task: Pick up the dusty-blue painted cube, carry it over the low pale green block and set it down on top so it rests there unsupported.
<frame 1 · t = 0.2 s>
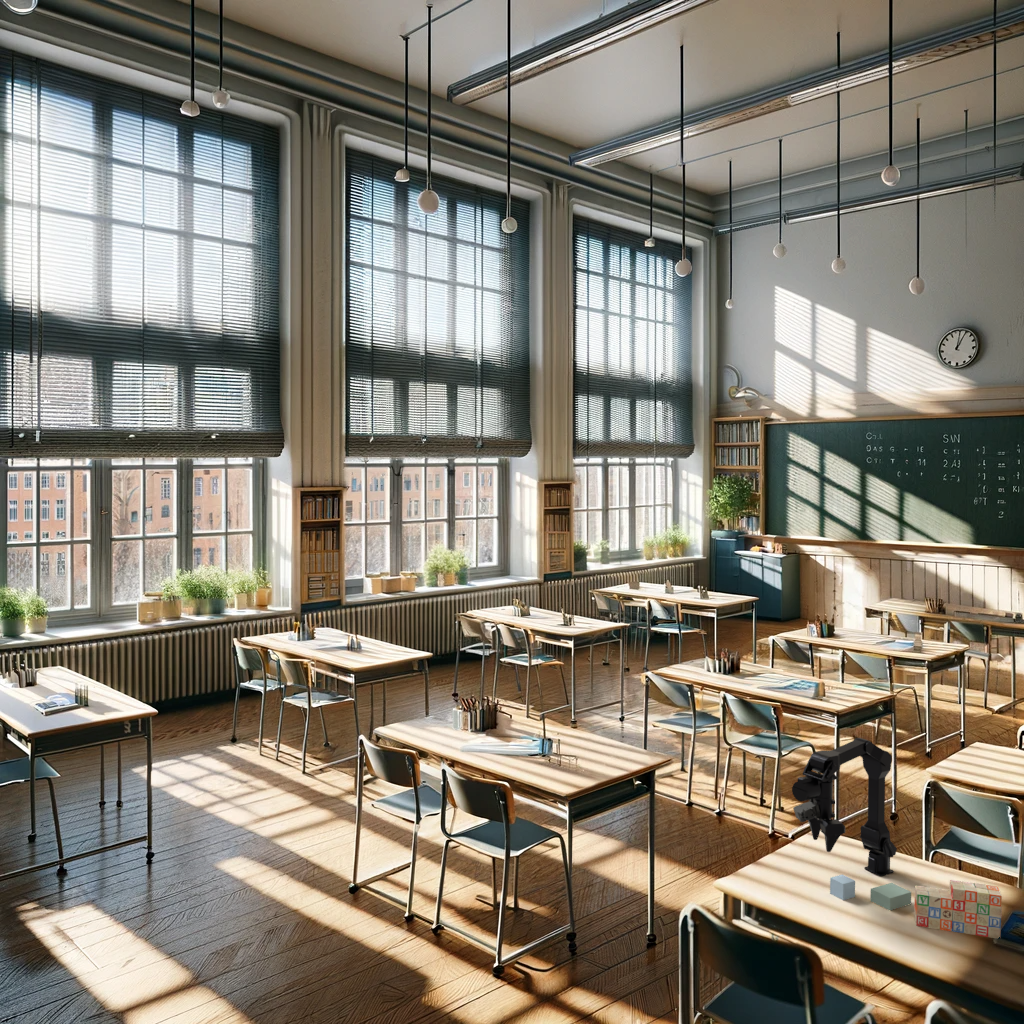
hand: (821, 845, 282), 14 cm above the table, fingers open, 9 cm apart
pale green block: (890, 903, 275), on the table
cube: (842, 895, 279), on the table
stack of blocks: (956, 928, 260), on the table
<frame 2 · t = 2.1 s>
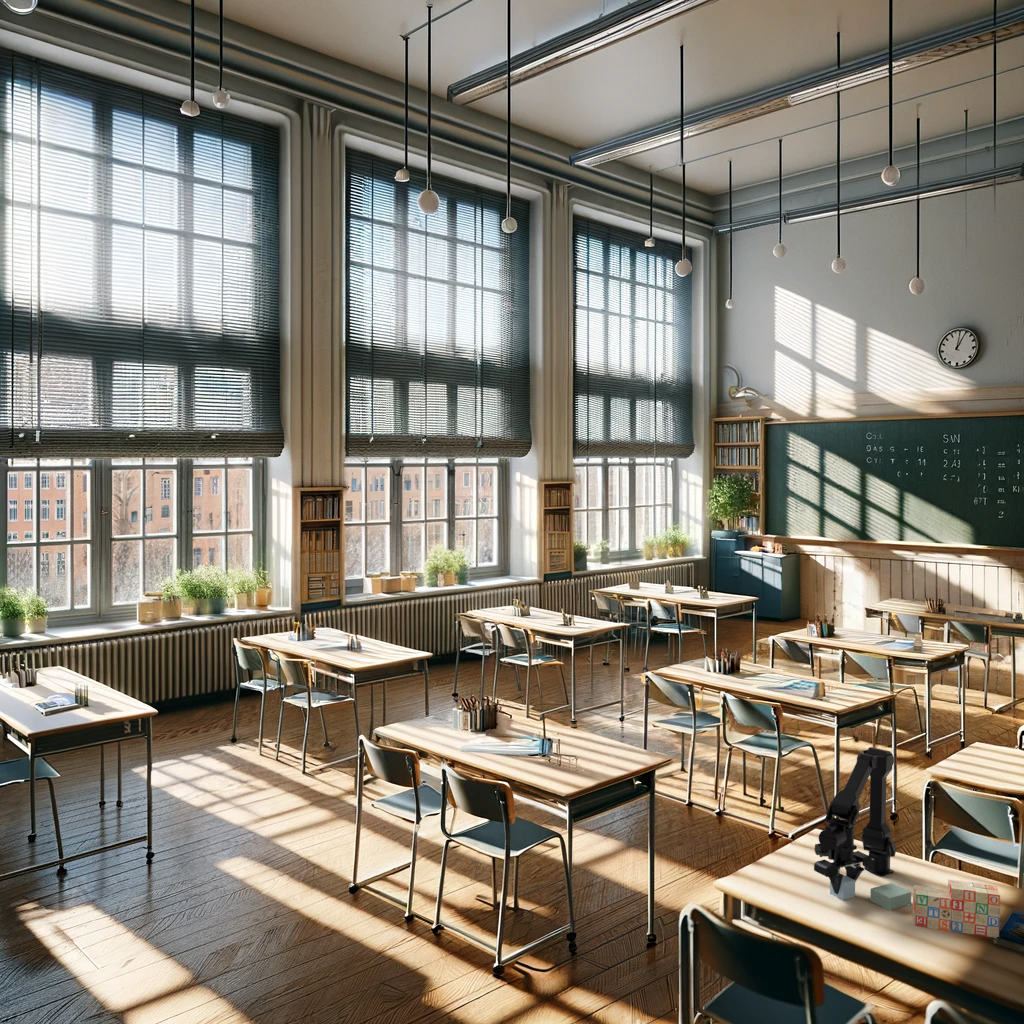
hand: (842, 891, 279), 1 cm above the table, fingers closed on cube, 5 cm apart
cube: (842, 895, 279), on the table, touching gripper
everything else where it was.
when the fingers open (6 cm above the table, at t = 5.2 s): cube drops 2 cm, point 4 cm above the table.
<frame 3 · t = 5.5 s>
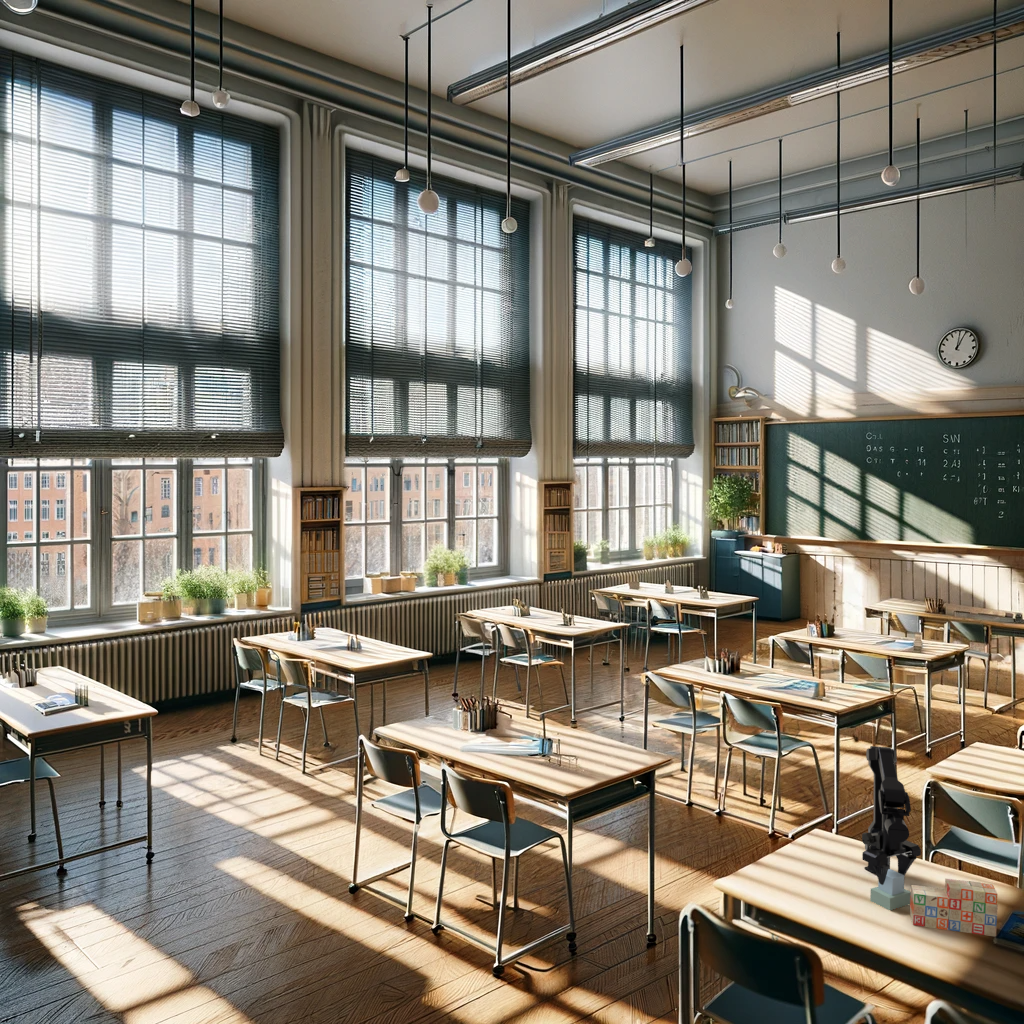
hand: (891, 881, 275), 6 cm above the table, fingers open, 8 cm apart
cube: (891, 890, 275), point 4 cm above the table
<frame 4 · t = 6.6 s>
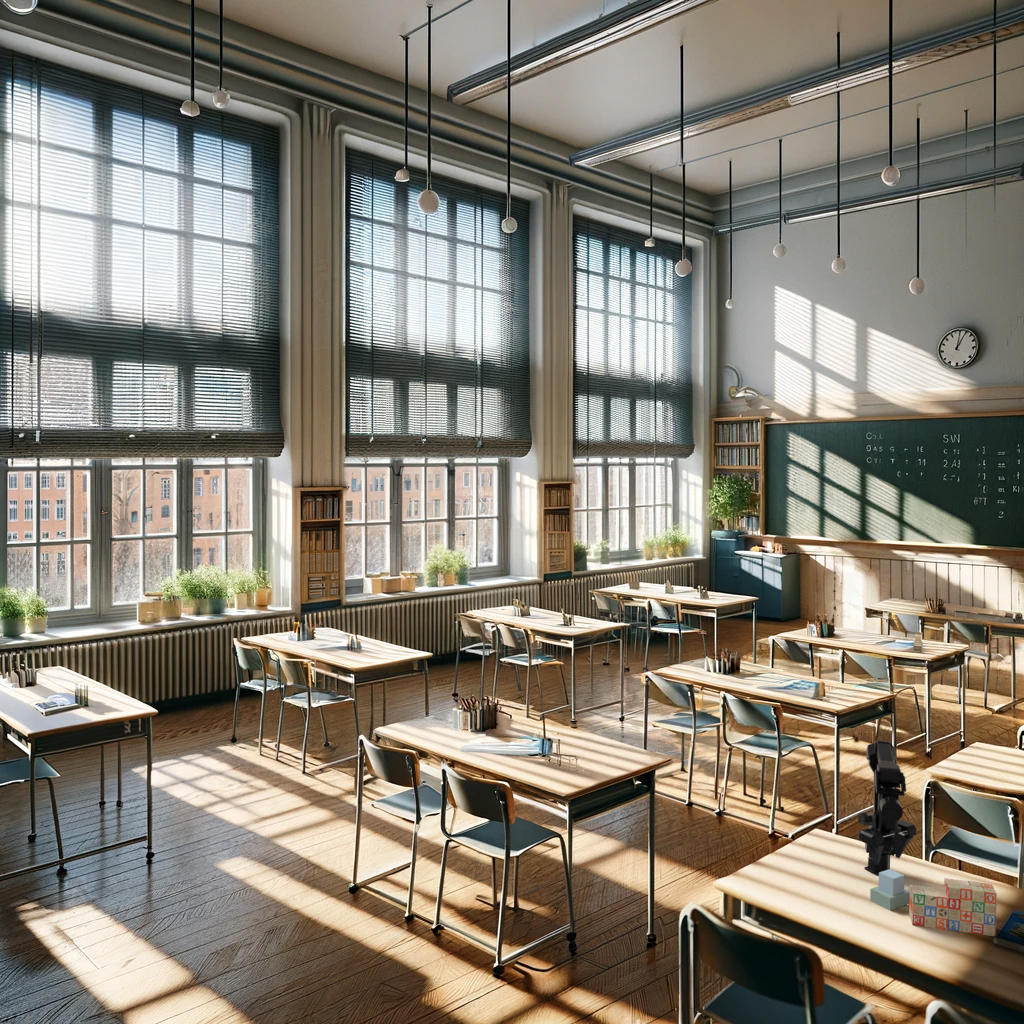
hand: (886, 860, 276), 12 cm above the table, fingers open, 9 cm apart
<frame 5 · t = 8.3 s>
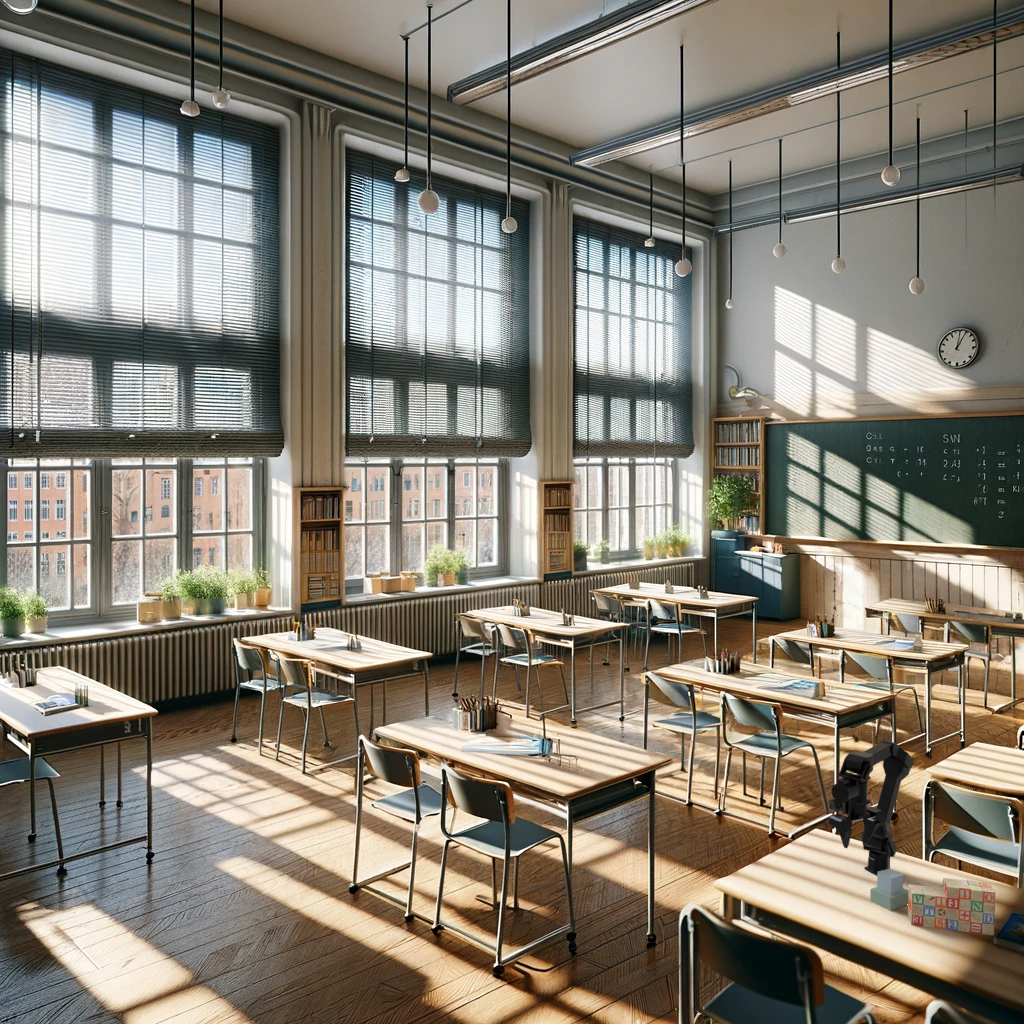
hand: (856, 845, 287), 12 cm above the table, fingers open, 9 cm apart
pale green block: (890, 903, 275), on the table, touching cube
cube: (889, 890, 275), point 4 cm above the table, touching pale green block
at the end: cube 0.4 cm off-centre on the pale green block, point 4.0 cm above the pale green block's base; cube tilted 0°; cube touching nothing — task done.
